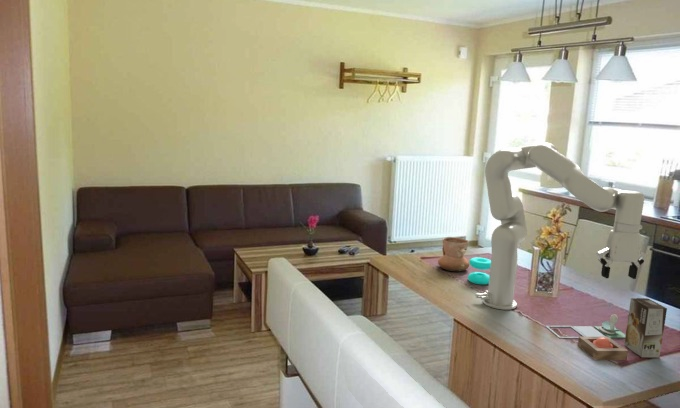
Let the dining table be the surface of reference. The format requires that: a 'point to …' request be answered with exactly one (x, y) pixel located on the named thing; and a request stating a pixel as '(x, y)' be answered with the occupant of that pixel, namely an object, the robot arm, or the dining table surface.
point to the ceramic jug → (454, 254)
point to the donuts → (479, 276)
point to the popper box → (602, 349)
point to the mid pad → (589, 331)
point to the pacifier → (611, 328)
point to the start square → (564, 326)
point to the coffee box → (645, 327)
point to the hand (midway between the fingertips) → (618, 277)
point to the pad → (616, 335)
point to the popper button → (602, 343)
